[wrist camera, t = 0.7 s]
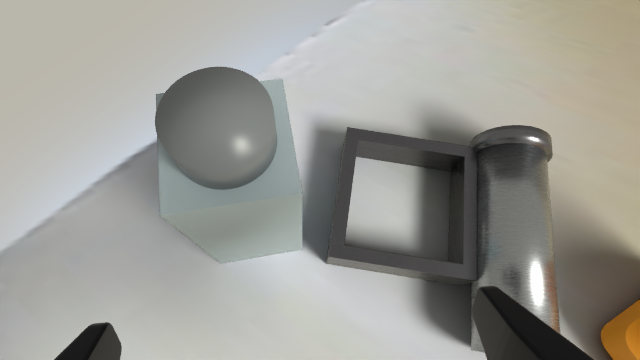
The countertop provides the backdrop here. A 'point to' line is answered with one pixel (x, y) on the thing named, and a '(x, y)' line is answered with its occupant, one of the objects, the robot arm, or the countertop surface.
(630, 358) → the bracket
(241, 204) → the grey capped bottle
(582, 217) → the countertop surface
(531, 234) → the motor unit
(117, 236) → the countertop surface
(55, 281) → the countertop surface
